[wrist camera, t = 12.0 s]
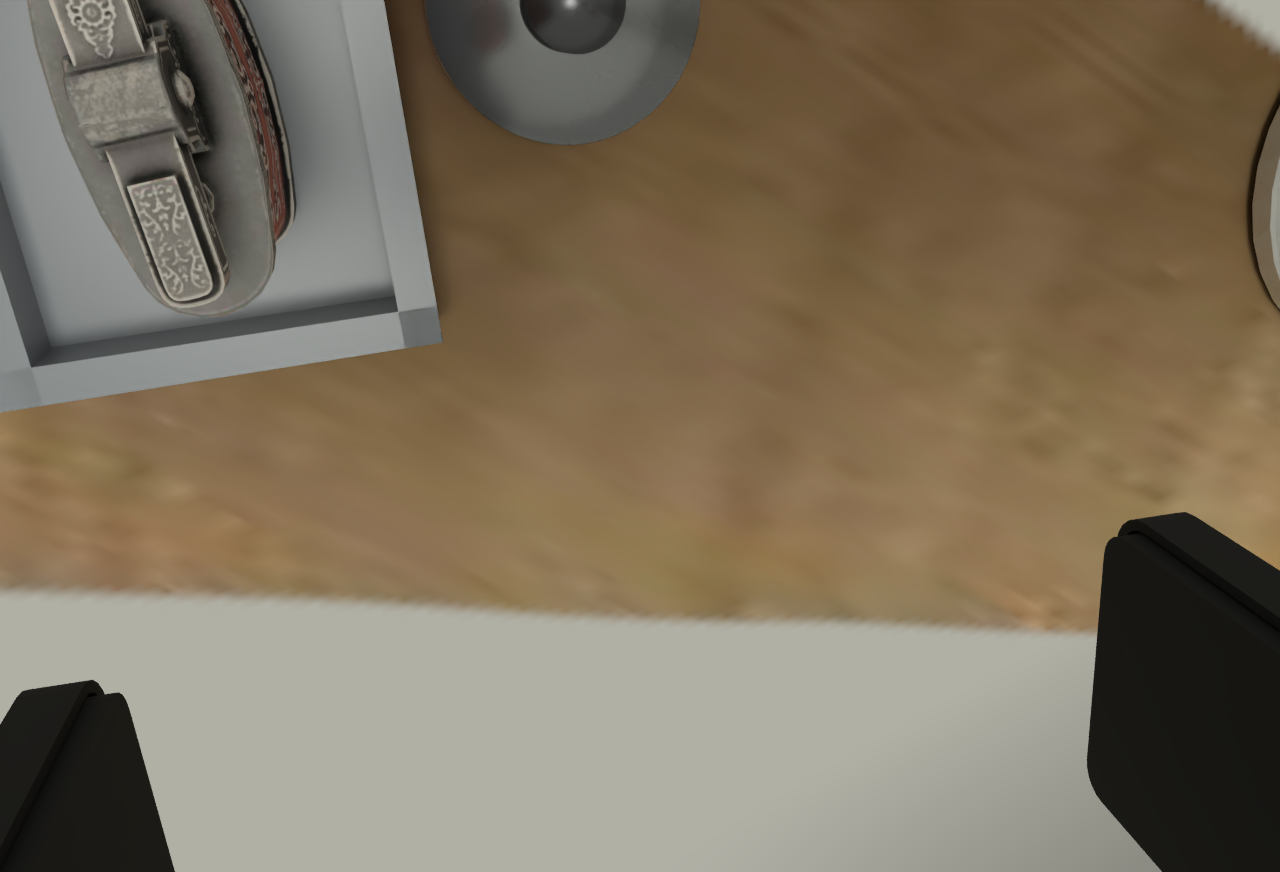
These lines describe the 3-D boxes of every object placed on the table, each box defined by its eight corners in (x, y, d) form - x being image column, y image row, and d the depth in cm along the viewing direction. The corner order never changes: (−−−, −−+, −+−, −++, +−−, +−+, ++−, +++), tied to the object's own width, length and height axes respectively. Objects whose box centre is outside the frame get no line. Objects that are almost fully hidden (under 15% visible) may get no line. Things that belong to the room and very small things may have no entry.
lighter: (76, -65, 26) (-82, -113, 17) (220, -94, 27) (141, -155, 18) (194, 264, 30) (113, 372, 20) (322, 232, 30) (299, 324, 21)
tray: (340, -243, 27) (338, -268, 25) (438, 319, 32) (442, 342, 30) (-159, -208, 25) (-213, -231, 23) (28, 383, 30) (0, 412, 28)
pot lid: (672, -155, 29) (705, -175, 26) (694, 122, 32) (727, 132, 29) (401, -131, 28) (404, -149, 25) (447, 154, 31) (455, 168, 28)
